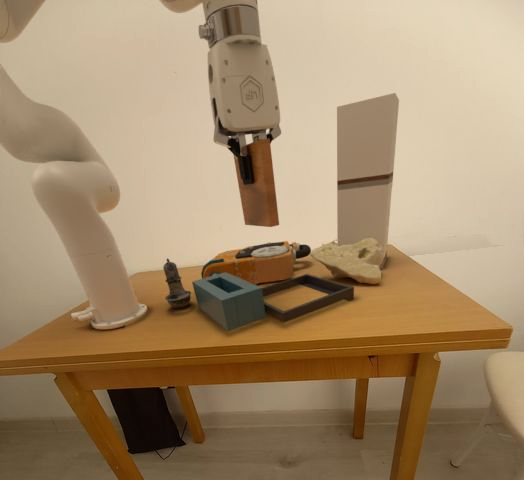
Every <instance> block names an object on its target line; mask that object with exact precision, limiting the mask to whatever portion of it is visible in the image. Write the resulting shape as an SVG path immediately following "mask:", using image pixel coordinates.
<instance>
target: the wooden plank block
mask: <svg viewBox="0 0 524 480" xmlns="http://www.w3.org/2000/svg"><path fill="white" fill-rule="evenodd" d="M246 145H247V151H248V156H251V161H252V168H253V175H254V183H253V184H247V185H244V184H243V180H242V179H241V176H240V170H239V164H238V159H237V158H235V156H234V154H233V153H232V155H233V160H234V166H235V172H236V179H237V183H238V189H239V196H240V197H239V198H240V203H241V208H242V215H243V221H244V225H245V226H254V227H266V228H272V227H277V226H280V220H279V218H280V217H279V209H278V200H277V192H276V184H275V183H276V182H275V173H274V166H273V165H274V164H273V155H272V148H271V144H270V139H260V140H258V141H255V142H253V141H252V142H250V143H246Z"/></svg>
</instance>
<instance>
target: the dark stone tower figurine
mask: <svg viewBox="0 0 524 480" xmlns="http://www.w3.org/2000/svg"><path fill="white" fill-rule="evenodd" d="M162 268H163V271H164V275H165V278H166V279H165V282H166V283H167V286H168V289H169V294H167V295H166V296H165V298H164V299H165V301H167V303H168V304H169V305H170V306H171V307H172V308H176V309H178V310H181V309H185V308H186V307H187V305H189V303H190V302H191V298H192V297H191V295H192V292H191V291H189V290H185V288H184V286H183V283H182V280H181V279H182V276H180V274H179V270H178V266H177V264H176V263H175V262H173V261H170V259H169V258H168V257H167V258H166V263H164V264H163V267H162Z"/></svg>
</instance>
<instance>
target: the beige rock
mask: <svg viewBox="0 0 524 480" xmlns="http://www.w3.org/2000/svg"><path fill="white" fill-rule="evenodd" d="M336 241H337V242H336ZM309 255H310V256H311V258H312V259H314V260H315V261H317V262H319V263H321V264H322V265H323V266H324V267H325V268H326V269H327V270H328V271H329V272H330V274H331V275H332V278H334V279H338V278H341V279H344V278H352V279H354V280H355V281H356V282H358V283H359V284H363V283H364V284H371V285H376V284H378V283H380V282H381V280H382V271H381V269H380V268H379V267H380V266H381V264H382V262H383V260H384V258H383V257H384V252H383V247H382V246H381V245H380V243H379V242H378V241H376V240H375V239H373V238H367V239H364V240H362V241H360V242H358V243H356V244H352V245H341V246H338V239H337V238H336V239H333V240H332V241H330V242H328V243H322V244H321V246H319V247H317V248H314V249H312V250H311V253H310V254H309Z"/></svg>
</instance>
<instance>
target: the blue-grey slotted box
mask: <svg viewBox="0 0 524 480" xmlns="http://www.w3.org/2000/svg"><path fill="white" fill-rule="evenodd" d="M191 283H192V287H193V291H194V296H195V300H196V302H197V306H198V308H199V309H200V310H201V311H202V312H203V313H205V314H206V315H207V316H208V317H210V319H212V320H213V321H214V322H216V323H217V324H218V325H220V326H221V327H222V328H223V329H224V330H226V331H227V332H230V331H233V330H235V329H238V328H241V327H244V326H246V325H249V324H252V323H255V322H258V321H260V320H262V319H266V318H267V316H266V313H265V308H264V302H265V301H264V297H263V294H262V288H263V287H261V286H258V284H255V285H254V284H252V283H250V282H247V281H245V280H243V279H240V278H238V277H236V276H233V275H231V274H229V273H226V272H225V273H221V274H218V275H214V276H210V277H207V278H203V279H202V278H201V279H197V280H193V281H191Z"/></svg>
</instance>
